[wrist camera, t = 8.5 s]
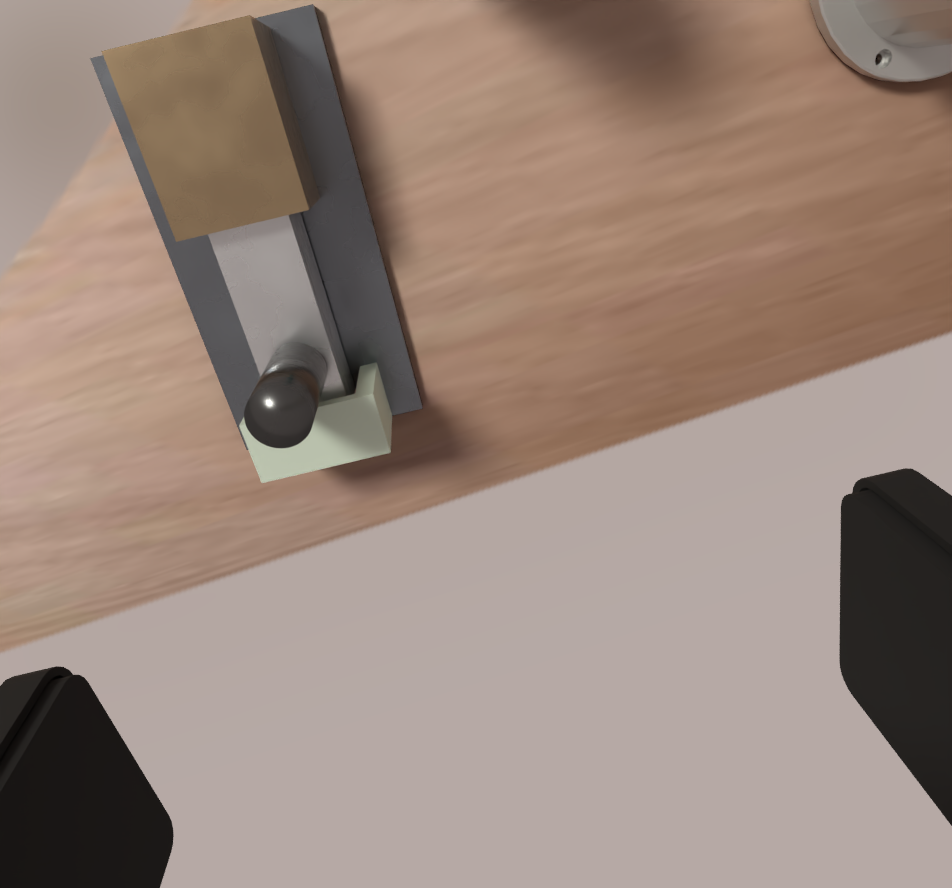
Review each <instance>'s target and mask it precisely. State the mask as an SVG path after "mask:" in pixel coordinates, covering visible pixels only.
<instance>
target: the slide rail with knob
mask: <svg viewBox="0 0 952 888" xmlns="http://www.w3.org/2000/svg"><path fill="white" fill-rule="evenodd" d="M102 53H103V55H102V56H98V57H94V58H91V61H92V64H93V66H94V69H95V71H96V74H97V76H98V79H99V81H100V84H101V86H102V89H103V91H104V94H105V96H106V98H107V101H108V104H109V106H110V109H111V111H112V114H113V116H114V119H115V121H116V124H117V126H118V129H119V131H120V134H121V136H122V139H123V141H124V144H125V146H126V149H127V151H128V154H129V156H130V159H131V161H132V164H133V166H134V169H135V171H136V174H137V176H138V179H139V181H140V184H141V186H142V189H143V191H144V194H145V196H146V199H147V201H148V204H149V206H150V209H151V211H152V214H153V216H154V219H155V221H156V224H157V226H158V229H159V231H160V234H161V236H162V239H163V241H164V244H165V246H166V249H167V251H168V254H169V256H170V259H171V261H172V264H173V266H174V269H175V271H176V274H177V276H178V279H179V281H180V284H181V286H182V289H183V291H184V294H185V296H186V299H187V301H188V304H189V306H190V309H191V311H192V314H193V316H194V319H195V321H196V324H197V326H198V329H199V332H200V334H201V337H202V339H203V342H204V344H205V347H206V349H207V352H208V354H209V357H210V359H211V362H212V364H213V367H214V369H215V372H216V374H217V377H218V379H219V382H220V384H221V387H222V389H223V392H224V394H225V397H226V399H227V402H228V404H229V407H230V409H231V412H232V414H233V417H234V419H235V422H236V424H237V427H238V429H239V432H240V434H241V437H242V439H243V442H244V444H245V447H246V449H247V450H248V447H247V445H246V442H245V440H244V437H243V435H242V432H241V430H240V427H239V425H240V423H241V421H242V419H243V417H244V410H245V406H246V404H247V402H248V400H249V398H250V396H251V394H252V392H253V390H254V389H255V387H256V385H257V383H258V381H259V379H260V377H261V376H260V373H259V371H258V368H257V365H256V363H255V360H254V357H253V355H252V352H251V349H250V347H249V344H248V341H247V339H246V336H245V333H244V330H243V328H242V325H241V322H240V320H239V317H238V314H237V312H236V309H235V306H234V304H233V301H232V298H231V295H230V293H229V290H228V287H227V285H226V282H225V279H224V277H223V274H222V271H221V269H220V266H219V263H218V260H217V258H216V255H215V252H214V250H213V247H212V244H211V242H210V239H209V236H208V234H211V233H215V232H219V231H223V230H228V229H232V228H236V227H240V226H244V225H248V224H253V223H257V222H261V221H265V220H269V219H273V218H278V217H282V216H286V215H290V214H294V213H298V212H300V213H301V216H302V219H303V222H304V225H305V229H306V232H307V235H308V238H309V241H310V245H311V248H312V251H313V254H314V257H315V261H316V264H317V267H318V270H319V273H320V277H321V280H322V283H323V286H324V289H325V293H326V296H327V299H328V302H329V306H330V309H331V312H332V315H333V318H334V322H335V325H336V328H337V331H338V334H339V338H340V341H341V344H342V347H343V350H344V354H345V357H346V360H347V363H348V366H349V370H350V373H351V376H352V379H353V382H354V386H355V389H356V386H357V381H358V375H359V369H360V366H363V365H367V364H372V363H376V362H377V366H378V369H379V372H380V376H381V379H382V383H383V386H384V389H385V393H386V396H387V400H388V403H389V407H390V410H391V413H392V416H393V415H397V414H401V413H406V412H410V411H414V410H418V409H423V407H422V402H421V398H420V394H419V390H418V387H417V383H416V379H415V376H414V372H413V368H412V365H411V361H410V357H409V353H408V350H407V346H406V342H405V339H404V335H403V331H402V328H401V324H400V320H399V316H398V313H397V309H396V305H395V302H394V298H393V294H392V291H391V287H390V283H389V280H388V276H387V272H386V268H385V265H384V261H383V257H382V254H381V250H380V246H379V243H378V239H377V235H376V231H375V228H374V224H373V220H372V217H371V213H370V209H369V206H368V202H367V198H366V195H365V191H364V187H363V183H362V180H361V176H360V172H359V169H358V165H357V161H356V158H355V154H354V150H353V146H352V143H351V139H350V135H349V132H348V128H347V124H346V121H345V117H344V113H343V110H342V106H341V102H340V98H339V95H338V91H337V87H336V84H335V80H334V76H333V73H332V69H331V65H330V61H329V58H328V54H327V50H326V47H325V43H324V39H323V36H322V32H321V28H320V25H319V21H318V17H317V13H316V10H315V6H314V5H313V4H312V5H308V6H304V7H300V8H296V9H292V10H288V11H283V12H279V13H275V14H271V15H267V16H263V17H259V18H253V17H252V16H250V15H249V16H245V17H241V18H236V19H232V20H228V21H224V22H220V23H216V24H212V25H208V26H204V27H199V28H195V29H191V30H187V31H183V32H179V33H175V34H171V35H166V36H162V37H158V38H154V39H150V40H146V41H142V42H138V43H134V44H130V45H125V46H121V47H118V48H113V49H109V50H105V51H102Z"/></svg>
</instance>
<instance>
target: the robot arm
mask: <svg viewBox="0 0 952 888" xmlns="http://www.w3.org/2000/svg"><path fill="white" fill-rule="evenodd" d="M810 5H811V8H812V11H813V14H814V17H815V20H816V23H817V26H818V29H819V30H820V32H821V34H822V35H823V37H824V39H825V41H826V42H827V44H828V46H829V47H830V48H831V49H832V51H833V52H834V53H835V54H836V55H837V56H838V57H839V58H840V59H841V60H842V61H843V62H844V63H845V64H847V65H848V66H850V67H851V68H853V69H854V70H856V71H857V72H859V73H860V74H863V75H866V76H869V77H872V78H874V79H877V80H880V81H892V82H911V81H924V80H928V79H932V78H936V77H940V76H944V75H946V74H949V73H951V72H952V0H810ZM876 56H877V62H876V63H875V59H876ZM840 566H841V567H840V570H841V572H840V668H841V672H842V676H843V678H844V681H845V683H846V685H847V687H848V689H849V691H850V692H851V694H852V695H853V697H854V698H855V699H856V700H857V702H858V703H859V704H860V706H861V707H862V708H863V710H864V711H865V712H866V714H867V715H868V716H869V717H870V719H871V720H872V722H873V723H874V724H875V726H876V727H877V728H878V729H879V731H880V732H881V733H882V735H883V736H884V737H885V739H886V740H887V741H888V742H889V744H890V745H891V747H892V748H893V749H894V750H895V752H896V753H897V754H898V756H899V757H900V758H901V760H902V761H903V762H904V763H905V765H906V766H907V767H908V769H909V770H910V772H911V773H912V774H913V775H914V777H915V778H916V779H917V781H918V782H919V783H920V784H921V786H922V787H923V789H924V790H925V791H926V792H927V794H928V795H929V796H930V798H931V799H932V800H933V802H934V803H935V804H936V806H937V807H938V808H939V809H940V811H941V812H942V814H943V815H944V816H945V817H946V819H947V820H948V821H949V823H950V824H951V825H952V496H951V495H950V494H948V493H947V492H945V491H944V490H943V489H941V488H940V487H939V486H937V485H936V484H934V483H933V482H932V481H930V480H929V479H927V478H926V477H924V476H923V475H922V474H920V473H919V472H917V471H915V470H913V469H901V470H897V471H892V472H888V473H884V474H880V475H875V476H871V477H867V478H862V479H860V480H858V481H857V482H856V483H855V485H854V487H853V493H852V494H848V495H846V496H844V498H843V500H842V504H841V565H840ZM172 845H173V827H172V822H171V819H170V817H169V815H168V813H167V812H166V810H165V808H164V807H163V805H162V803H161V802H160V800H159V798H158V797H157V795H156V794H155V792H154V790H153V789H152V787H151V785H150V784H149V782H148V780H147V779H146V777H145V776H144V774H143V772H142V770H141V769H140V767H139V766H138V764H137V762H136V761H135V759H134V757H133V756H132V754H131V752H130V751H129V749H128V747H127V746H126V744H125V742H124V741H123V739H122V738H121V736H120V734H119V733H118V731H117V729H116V728H115V726H114V724H113V723H112V721H111V719H110V718H109V716H108V714H107V713H106V711H105V710H104V708H103V706H102V704H101V703H100V702H99V700H98V698H97V696H96V695H95V693H94V691H93V690H92V688H91V686H90V685H89V683H88V682H87V681H86V679H85V678H84V677H82V676H80V675H73V674H72V673H71V672H70V671H69V670H68V669H66V668H64V667H52V668H48V669H44V670H39V671H35V672H31V673H27V674H22V675H18V676H14V677H11V678H9V679H7V680H5V682H3V684H2V685H1V686H0V888H160V885H161V882H162V879H163V876H164V873H165V869H166V866H167V863H168V859H169V856H170V853H171V850H172Z"/></svg>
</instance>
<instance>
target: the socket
mask: <svg viewBox="0 0 952 888" xmlns="http://www.w3.org/2000/svg"><path fill="white" fill-rule="evenodd" d="M239 427H240V430H241V432H242V435H243V437H244V440H245V442H246V445H247V447H248V450H249V452H250V455H251V457H252V460H253V462H254V465H255V467H256V470H257V472H258V475H259V477H260V480H261V482H262V483H265V482H269V481H273V480H277V479H282V478H286V477H290V476H294V475H299V474H303V473H307V472H311V471H316V470H320V469H324V468H328V467H332V466H337V465H341V464H345V463H349V462H354V461H358V460H362V459H366V458H371V457H375V456H379V455H383V454H388V453H391V432H392V413H391V410H390V407H389V403H388V400H387V396H386V393H385V389H384V386H383V383H382V379H381V376H380V372H379V369H378V366H377V362H376V363H372V364H367V365H363V366H360V369H359V375H358V381H357V386H356V392H355V394H352V395H348V396H344V397H340V398H335V399H331V400H327V401H323V402H319V405H318V408H317V412H316V415H315V419H314V422H313V425H312V429H311V431H310V433H309V435H308V436H307V437H306V438H305V440H303V441H302V442H301V443H299V444H298V445H295V446H293V447H290V448H273V447H269V446H266V445H264V444H262V443H260V442H259V441H258V440H256V439H255V438H254V437H253V436H252V435H251V434H250V432H249V431H248V429H247V427H246V424H245V420H244V417H243V419H242V421H241V423H240V425H239Z"/></svg>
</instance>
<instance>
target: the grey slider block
mask: <svg viewBox="0 0 952 888" xmlns="http://www.w3.org/2000/svg"><path fill="white" fill-rule="evenodd" d="M208 236H209V239H210V242H211V244H212V247H213V250H214V252H215V255H216V258H217V260H218V263H219V266H220V269H221V271H222V274H223V277H224V279H225V282H226V285H227V287H228V290H229V293H230V295H231V298H232V301H233V304H234V306H235V309H236V312H237V314H238V317H239V320H240V322H241V325H242V328H243V330H244V333H245V336H246V339H247V341H248V344H249V347H250V349H251V352H252V355H253V357H254V360H255V363H256V365H257V368H258V371H259V373H260V376H261V377H260V379H259V381H258V383H257V385H256V387H255V389H254V390H253V392H252V394H251V396H250V398H249V400H248V402H247V404H246V406H245V410H244V420H245V424H246V427H247V429H248V431H249V432H250V434H251V435H252V436H253V437H254V438H255V439H256V440H258V441H259V442H260V443H262V444H264V445H266V446H269V447H273V448H290V447H293V446H295V445H298V444H299V443H301V442H302V441H303V440H305V438H306V437H307V436H308V435H309V433H310V431H311V429H312V425H313V422H314V419H315V415H316V412H317V408H318V405H319V402H323V401H327V400H331V399H335V398H340V397H344V396H348V395H352V394H355V392H356V389H355V386H354V382H353V379H352V376H351V373H350V370H349V366H348V363H347V360H346V357H345V354H344V350H343V347H342V344H341V341H340V338H339V334H338V331H337V328H336V325H335V322H334V318H333V315H332V312H331V309H330V306H329V302H328V299H327V296H326V293H325V289H324V286H323V283H322V280H321V277H320V273H319V270H318V267H317V264H316V261H315V257H314V254H313V251H312V248H311V245H310V241H309V238H308V235H307V232H306V229H305V225H304V222H303V219H302V216H301V213H300V212H298V213H294V214H290V215H286V216H282V217H278V218H273V219H269V220H265V221H261V222H257V223H253V224H248V225H244V226H240V227H236V228H232V229H228V230H223V231H219V232H215V233H211V234H208Z"/></svg>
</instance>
